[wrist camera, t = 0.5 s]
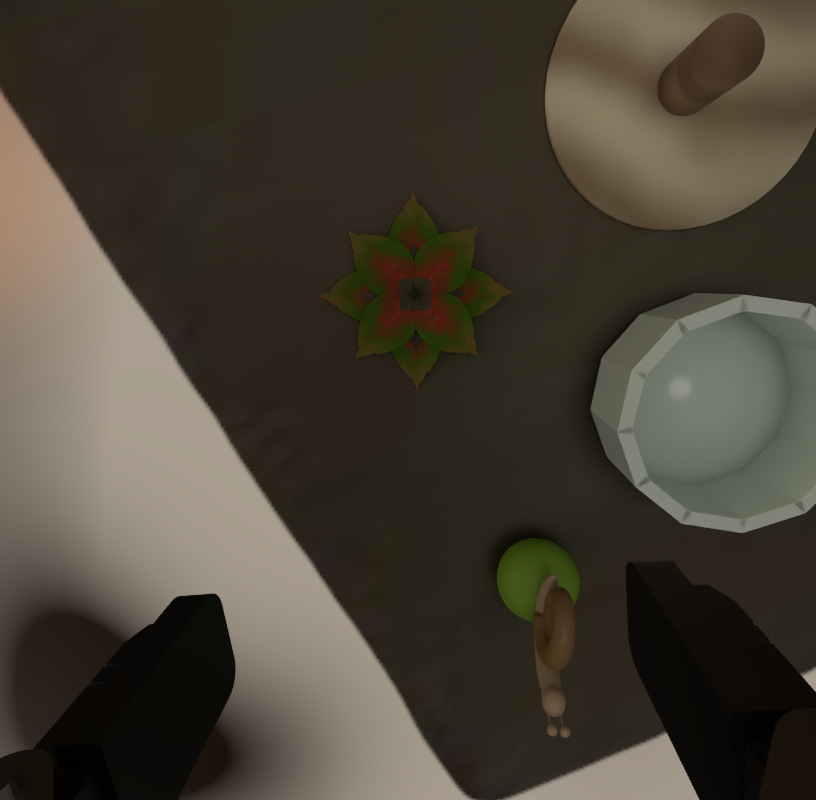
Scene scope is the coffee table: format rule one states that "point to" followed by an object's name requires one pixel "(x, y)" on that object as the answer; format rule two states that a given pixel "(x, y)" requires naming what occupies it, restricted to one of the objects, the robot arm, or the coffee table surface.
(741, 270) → the coffee table surface
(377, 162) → the coffee table surface
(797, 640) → the coffee table surface
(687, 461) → the bowl
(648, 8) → the lid
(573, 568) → the snail figurine
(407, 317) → the lily flower
